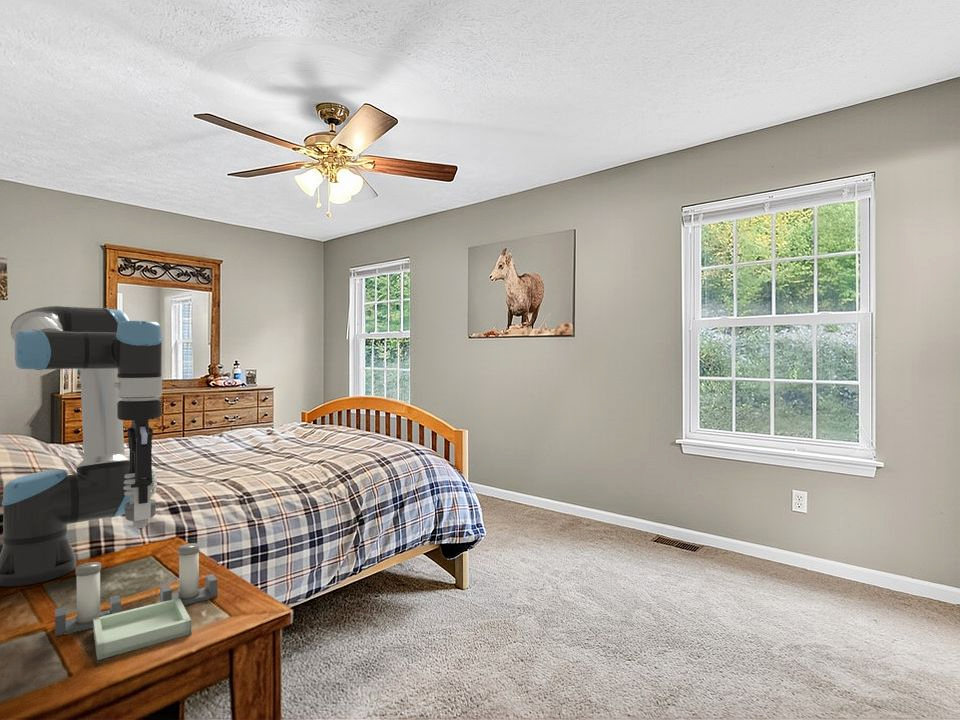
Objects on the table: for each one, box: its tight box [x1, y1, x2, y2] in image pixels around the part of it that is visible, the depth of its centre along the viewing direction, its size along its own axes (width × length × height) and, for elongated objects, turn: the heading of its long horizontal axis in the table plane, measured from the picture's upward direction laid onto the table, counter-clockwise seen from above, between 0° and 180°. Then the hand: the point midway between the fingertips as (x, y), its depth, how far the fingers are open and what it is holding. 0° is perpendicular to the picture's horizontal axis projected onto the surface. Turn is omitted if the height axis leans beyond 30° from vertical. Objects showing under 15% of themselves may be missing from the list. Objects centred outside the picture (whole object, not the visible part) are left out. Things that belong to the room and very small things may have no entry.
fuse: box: [75, 561, 102, 625], centre depth 103 cm, size 4×4×10 cm
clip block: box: [54, 573, 218, 637], centre depth 109 cm, size 5×27×4 cm, turn 128°
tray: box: [92, 598, 192, 661], centre depth 100 cm, size 12×14×2 cm
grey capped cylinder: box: [177, 542, 200, 600], centre depth 114 cm, size 4×4×10 cm
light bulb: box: [124, 469, 158, 530], centre depth 109 cm, size 6×6×12 cm
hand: (140, 515), depth 109 cm, fingers closed on light bulb, 6 cm apart
